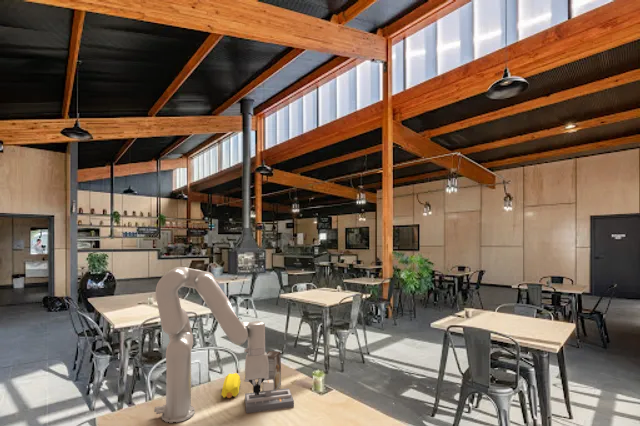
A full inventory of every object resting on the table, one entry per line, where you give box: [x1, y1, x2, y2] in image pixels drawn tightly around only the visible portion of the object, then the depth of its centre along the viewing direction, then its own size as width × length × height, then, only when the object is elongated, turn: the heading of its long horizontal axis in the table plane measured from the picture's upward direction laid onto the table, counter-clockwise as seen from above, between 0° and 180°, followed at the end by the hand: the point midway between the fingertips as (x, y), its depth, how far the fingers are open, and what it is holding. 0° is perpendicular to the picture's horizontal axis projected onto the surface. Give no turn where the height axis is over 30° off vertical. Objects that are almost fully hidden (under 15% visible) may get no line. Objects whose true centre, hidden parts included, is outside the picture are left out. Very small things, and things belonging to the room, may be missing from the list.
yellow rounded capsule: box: [220, 372, 242, 399], centre depth 164 cm, size 18×7×8 cm
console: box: [244, 387, 295, 414], centre depth 152 cm, size 20×13×3 cm, turn 104°
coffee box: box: [266, 350, 282, 390], centre depth 167 cm, size 9×6×16 cm
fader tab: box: [262, 380, 274, 397], centre depth 152 cm, size 4×3×6 cm
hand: (256, 393), depth 150 cm, fingers closed
